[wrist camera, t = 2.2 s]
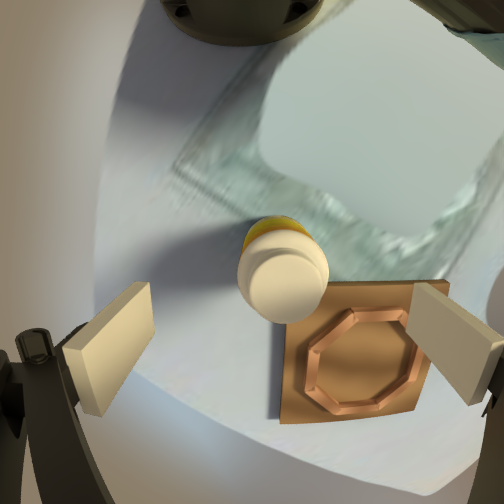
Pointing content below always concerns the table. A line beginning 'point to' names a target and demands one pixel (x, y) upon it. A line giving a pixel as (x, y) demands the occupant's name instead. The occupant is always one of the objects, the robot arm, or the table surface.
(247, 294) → the supplement bottle
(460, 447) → the table surface
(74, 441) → the robot arm
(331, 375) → the holder board
